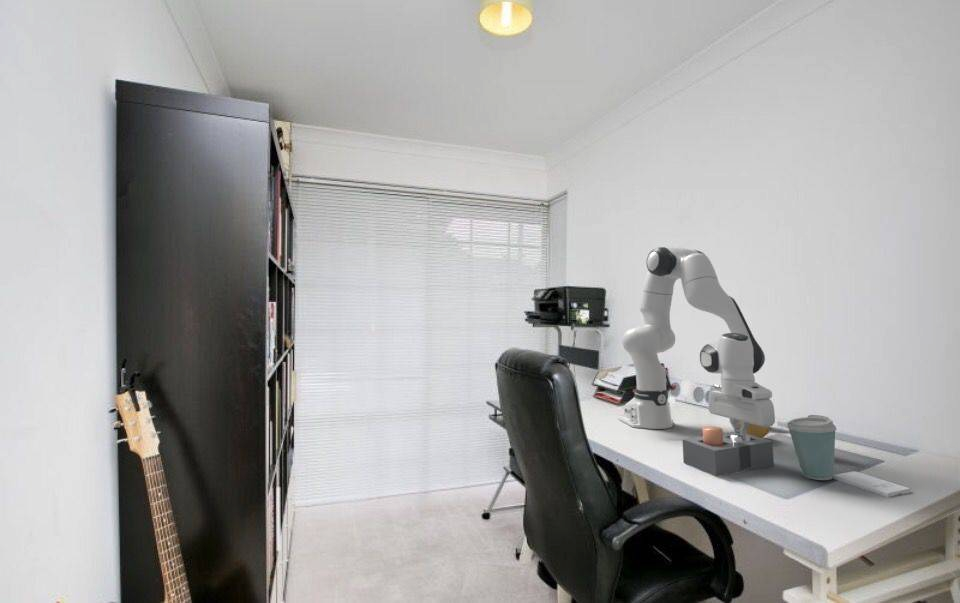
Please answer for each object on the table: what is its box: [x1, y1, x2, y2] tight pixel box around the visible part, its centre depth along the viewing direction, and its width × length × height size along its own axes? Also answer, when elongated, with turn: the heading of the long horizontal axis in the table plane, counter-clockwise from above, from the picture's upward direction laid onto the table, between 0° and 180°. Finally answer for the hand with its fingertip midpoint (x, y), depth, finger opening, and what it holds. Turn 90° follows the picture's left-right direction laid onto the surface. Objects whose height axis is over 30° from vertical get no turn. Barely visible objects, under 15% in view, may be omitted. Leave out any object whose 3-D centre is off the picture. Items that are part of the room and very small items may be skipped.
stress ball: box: [738, 421, 770, 439], centre depth 154 cm, size 10×10×10 cm
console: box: [682, 431, 775, 477], centre depth 131 cm, size 12×21×7 cm, turn 108°
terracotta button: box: [702, 425, 724, 447], centre depth 130 cm, size 5×5×7 cm
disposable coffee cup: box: [787, 416, 837, 481], centre depth 120 cm, size 11×11×15 cm
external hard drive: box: [832, 470, 912, 498], centre depth 113 cm, size 2×8×12 cm
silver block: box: [730, 433, 750, 442], centre depth 133 cm, size 5×5×7 cm
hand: (740, 435), depth 133 cm, fingers closed
